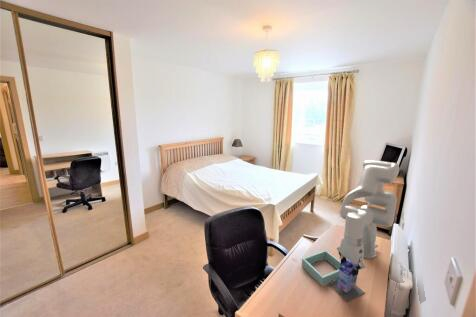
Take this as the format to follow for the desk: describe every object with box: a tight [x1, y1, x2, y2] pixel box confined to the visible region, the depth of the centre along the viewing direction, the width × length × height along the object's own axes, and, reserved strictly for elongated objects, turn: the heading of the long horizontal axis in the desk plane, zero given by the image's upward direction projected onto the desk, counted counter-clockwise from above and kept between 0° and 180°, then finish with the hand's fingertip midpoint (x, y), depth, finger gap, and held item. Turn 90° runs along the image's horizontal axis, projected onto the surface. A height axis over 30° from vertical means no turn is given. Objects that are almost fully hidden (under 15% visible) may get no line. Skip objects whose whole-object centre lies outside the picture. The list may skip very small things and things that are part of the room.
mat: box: [328, 280, 366, 303], centre depth 107 cm, size 12×11×1 cm
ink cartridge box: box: [337, 259, 358, 293], centre depth 105 cm, size 10×6×14 cm, turn 127°
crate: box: [301, 249, 341, 286], centre depth 119 cm, size 18×16×5 cm
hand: (348, 270), depth 105 cm, fingers closed on ink cartridge box, 6 cm apart
